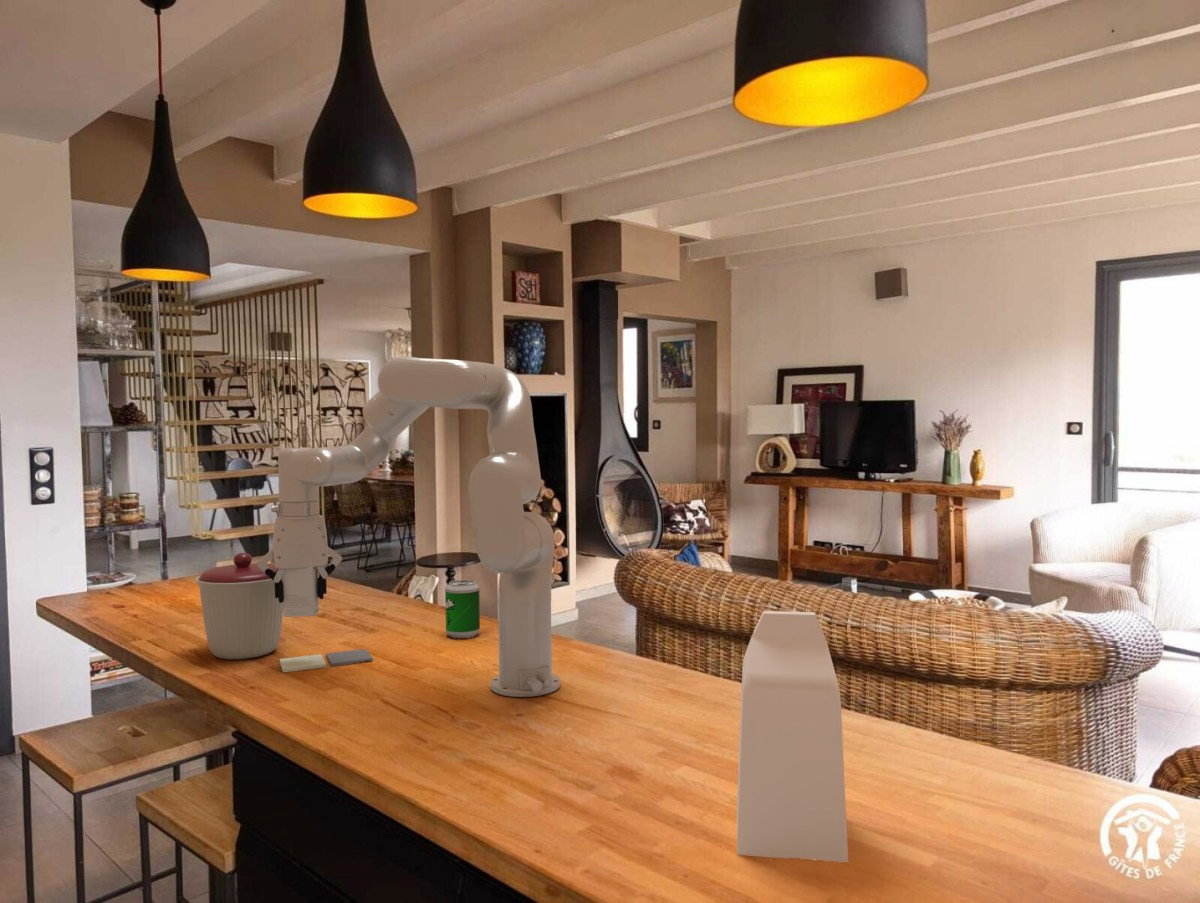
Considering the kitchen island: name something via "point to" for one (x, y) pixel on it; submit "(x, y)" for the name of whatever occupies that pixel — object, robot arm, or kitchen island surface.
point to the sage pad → (302, 663)
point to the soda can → (462, 609)
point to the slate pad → (348, 657)
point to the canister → (240, 609)
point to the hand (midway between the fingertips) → (300, 598)
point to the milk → (790, 744)
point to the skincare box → (300, 592)
